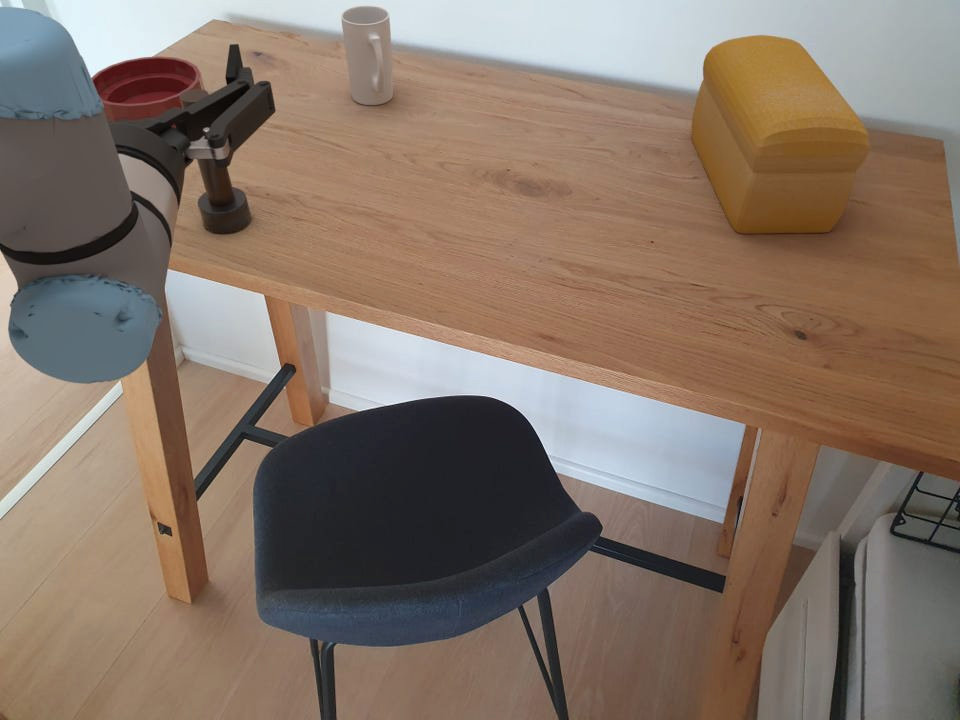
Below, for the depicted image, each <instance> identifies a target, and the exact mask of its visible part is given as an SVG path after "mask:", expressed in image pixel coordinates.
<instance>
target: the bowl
mask: <svg viewBox="0 0 960 720" xmlns="http://www.w3.org/2000/svg"><path fill="white" fill-rule="evenodd" d="M91 79H92V81H93V83H94V86H95V88H96V91H97V93H98V95H99V96H100V98H101V99H102V100H101V101H102V103H103V105H104V112H105V115H106V118H107V121H112V122H115V120H140V119H145V118H155V117H157V116H159V115H161V114H162V113H164V112H166V111H168V110H170V109H172V108H174V107H177V108H180V109H182V105H181V102H180V98H179V97H180V95H181V94H182V93H183V92H185V91H188V90H192V89H202V90H205V91H206V88H205V85H204V80H203V77H202V72H201V71H200V69H199V68H198V66H197V65H196V64H194V63H193V62H190V61H189V60H187V59H183V58H178V57H171V56H160V55H159V56H145V57H144V56H143V57H137V58H132V59H127V60H123V61H120V62H117V63H114V64H111V65H108V66H107V67H105V68H102V69H101V70H99V71H97V72H96V73H95V74H94V75H93V76H92V77H91ZM182 110H183V109H182ZM172 127H174V128H175V129H176V126H175V124H174V125H172Z"/></svg>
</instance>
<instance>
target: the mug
mask: <svg viewBox="0 0 960 720" xmlns="http://www.w3.org/2000/svg"><path fill="white" fill-rule="evenodd" d="M340 14H341V15H340V19H341V28H342V35H343V42H344V49H345V56H346V63H347V65H346V66H347V72H348V79H349V87H350V94H351V97H352V99H353V101H354V102H355V103H357V104H359V105H364V106H379V105H384V104H387V103H388V102H390V101H391V100H392V99H393V97H394V76H393V75H394V74H393V57H392V56H393V53H392V35H391V33H392V32H391V20H390V12H389V11H388V10H387V9H385V8H383V7H381V6H377V5H375V6H374V5H357V6H353V7H349V8H346V9H345V10H344V11H342V13H340Z"/></svg>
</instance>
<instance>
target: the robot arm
mask: <svg viewBox="0 0 960 720" xmlns="http://www.w3.org/2000/svg"><path fill="white" fill-rule="evenodd" d="M226 62H227V63H226V70H225V77H224V78H225V83H226V85H224V86H223V87H221V88H219V89H217V90H215V91H214V92H211V93H209V95H208V96H206V97H204V98H203V99H201V100H199V101H197V102H195V103H193V104H192V105H190V106H188V107H186V108H184V109H183V110H182V109H180V108H177V107H174V108H172V109H170V110H168V111H166V112H164V113H162V114H161V115H159V116H157V117H155V118H145V119H140V120H115V122H112V121H107V118H106V115H105V112H104V105H103V103H102V101H101V100H102V99H101V98H100V96H99V95H98V93H97V91H96V88H95V86H94V83H93V81H92V79H91V78H92V77H91V74H90V71H89V69H88V67H87V65H86V61H85V59H84V57H83V56H82V55H81V53H80V51H79V49H78V47H77V45H76V43H75V40H74V38H73V36H72V35H71V34H70V32H69V31H68V29H67V28H66V27H65V26H63V25H62V24H61V23H60V22H59V21H58V20H56V19H54V18H52V17H50V16H47V15H44V14H42V12H41V13H40V12H39V11H36V10H33V9H29V8H23V7H14V6H0V252H1V254H2V256H3V258H4V260H5V262H6V264H7V265H8V268H9V270H10V271H11V273H12V275H13V276H14V278H15V281H16V284H17V291H16V292H15V293H14V294H13V295H12V296H13V297H12V299H11V301H10V304H9V307H10V311H9V319H8V327H7V331H8V332H7V333H8V338H9V341H10V343H11V346H12V347H13V349H14V351H15V352H16V353H17V355H18V356H19V357H20V358H21V359H22V360H23V361H24V362H26V364H27V365H29V366H30V367H32V368H33V369H35V370H36V371H38V372H40V373H42V374H44V375H46V376H49V377H51V378H53V379H57V380H60V381H63V382H68V383H73V384H83V385H84V384H85V385H91V384H94V383H104V382H105V383H106V382H107V383H108V382H109V383H110V382H113V381H118V380H120V379H123V378H125V377H127V376H129V375H132V374H133V373H134V372H135V371H137V370H138V369H139V368H141V366H142V365H143V364H144V363H145V362H146V361H147V360H148V358H149V356H150V354H151V351H152V347H153V343H154V339H155V336H156V332H157V329H158V327H160V325H161V323H162V318H163V310H162V307H163V300H164V294H165V288H166V282H167V277H168V270H169V265H170V264H169V263H170V257H171V253H172V247H173V242H174V237H175V231H176V226H177V220H178V212H179V209H180V205H181V201H182V200H181V199H182V194H183V190H184V189H183V188H184V184H185V174H186V169H187V168H188V167H189V166H190V165H191V164H192V163H193V162H194V160H197V159H213V163H214V166H215V167H216V168H226V167H227V168H228V167H229V166H230V165H231V163H232V159H233V158H234V157H233V156H234V153H236V151H237V150H238V149H240V147H242V145H243V144H244V143H246V142H247V140H248V139H250V138H251V137H252V135H254V134H255V133H256V131H258V130H259V129H260V128H261V127H262V126H263V125H264V124H265V123H266V122H267V121H268V120H269V119H270V118H271V116H273V115H274V114H275V113H276V111H277V110H276V104H275V99H274V94H273V93H274V92H273V88H272V83H271V81H269V80H260V81H257V82H255V80H254V74H253V69H252V68H251V67H249V66H246V67H245V66H244V64H243V59H242V53H241V50H240V45H239V44H238V43H232V44H229V47H228V55H227V61H226ZM174 124H175V126H176V129H175V128H174V127H172V125H174Z"/></svg>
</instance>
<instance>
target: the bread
mask: <svg viewBox="0 0 960 720" xmlns="http://www.w3.org/2000/svg"><path fill="white" fill-rule="evenodd" d="M702 78H703V79H702V81H701V83H700V87H699V90H698V93H697V97H696V100H695V104H694V108H693V114H692V119H691V141H692V143H693V146H694V148H695V151H696V153H697V155H698V158H699V159H700V161H701V164H702V167H703V168H704V171H705V173H706V175H707V178H708V180H709V181H710V184H711V186H712V188H713V190H714V192H715V195H716V197H717V199H718V202H719V204H720V206H721V208H722V210H723V212H724V214H725V217H726V218H727V221H728V223H729V224H730V226H731V228H732V229H733V230H734V231H735V232H737V233H738V234H745V235H752V234H753V235H756V234H759V235H760V234H822V233H823V234H824V233H829V232H831V231H832V229H833V228H834V227H835V225H837V223H838V221H839V220H840V219H841V217H842V215H843V213H844V211H845V208H846V205H847V203H848V201H849V199H850V196H851V192H852V191H853V187H854V184H855V180H856V177H857V170H859V169H860V167H862V165H863V164H864V162H865V161H866V159H867V157H868V155H869V152H870V148H871V142H870V137H869V133H868V131H867V128H866V127H865V125H864V124H863V122H862V121H861V119H860V117H859V116H858V115H857V113H856V112H855V110H854V109H853V108H852V106H851V105H850V104H849V103H848V101H847V100H846V99H845V98H844V97H843V95H842V94H841V93H840V91H839V90H838V89H837V87H836V86H835V85H834V84H833V82H832V81H831V80H830V79H829V78H828V75H826V73H825V72H824V71H823V70H822V69H821V67H820V66H819V65H818V63H817V62H816V61H815V60H814V58H813V57H812V56H811V54H809V52H808V51H807V49H805V47H804V46H803V45H802V44H801V43H799V42H798V41H796V40H794V39H792V38H791V39H790V38H787V37H781V36H774V35H768V34H767V35H766V34H759V35H757V34H755V35H748V36H747V35H746V36H741V37H735V38H731V39H727V40H725V41H722V42H720V43H718V44H716V45H714V46H712V47H711V48H710V50H709V51H708V52H707V53H706V54H705V56H704V59H703V64H702Z"/></svg>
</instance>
